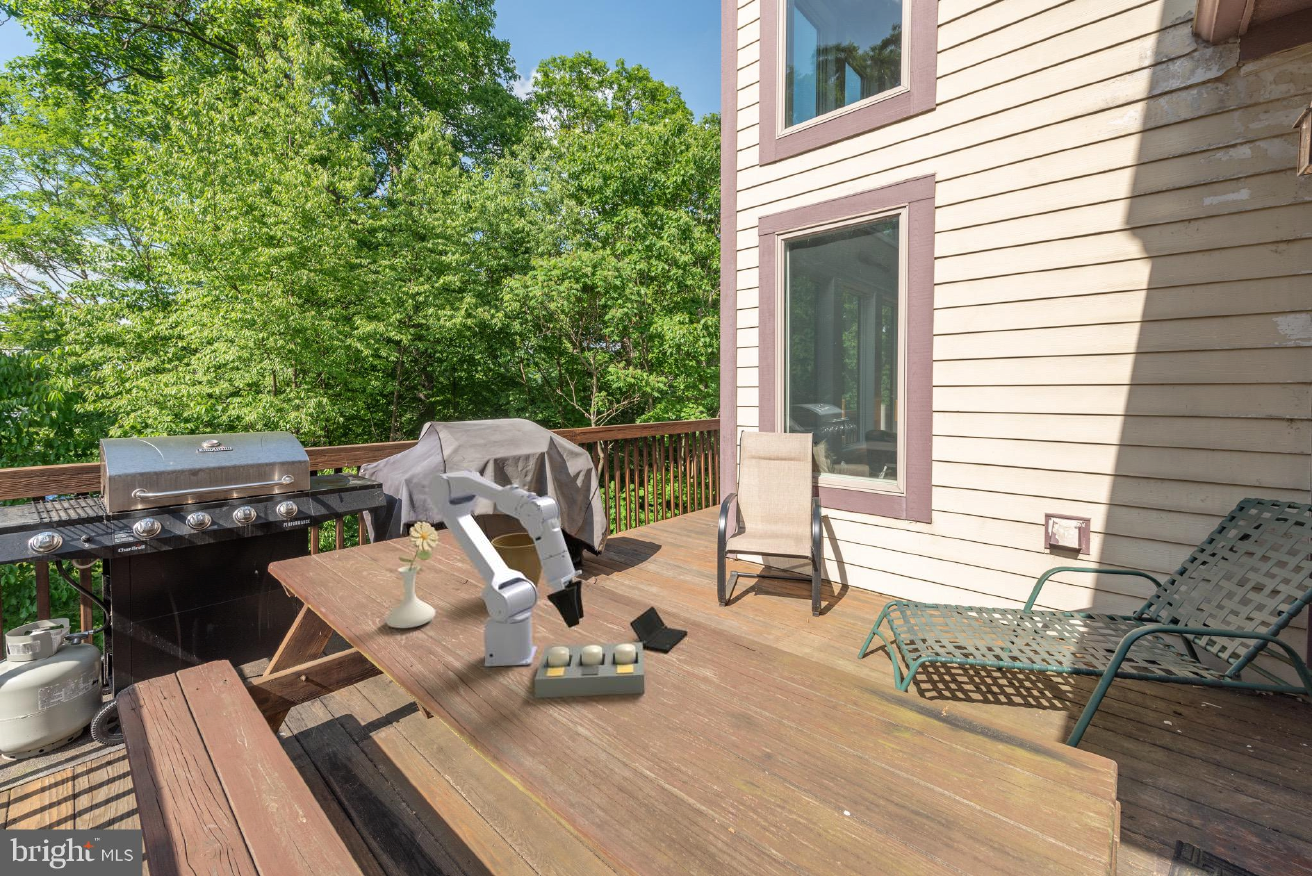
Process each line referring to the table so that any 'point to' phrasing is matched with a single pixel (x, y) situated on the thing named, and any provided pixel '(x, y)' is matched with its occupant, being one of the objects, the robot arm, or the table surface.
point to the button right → (625, 654)
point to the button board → (590, 674)
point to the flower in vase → (411, 607)
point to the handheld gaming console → (656, 632)
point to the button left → (558, 657)
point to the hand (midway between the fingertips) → (576, 622)
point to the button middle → (591, 655)
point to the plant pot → (519, 555)
